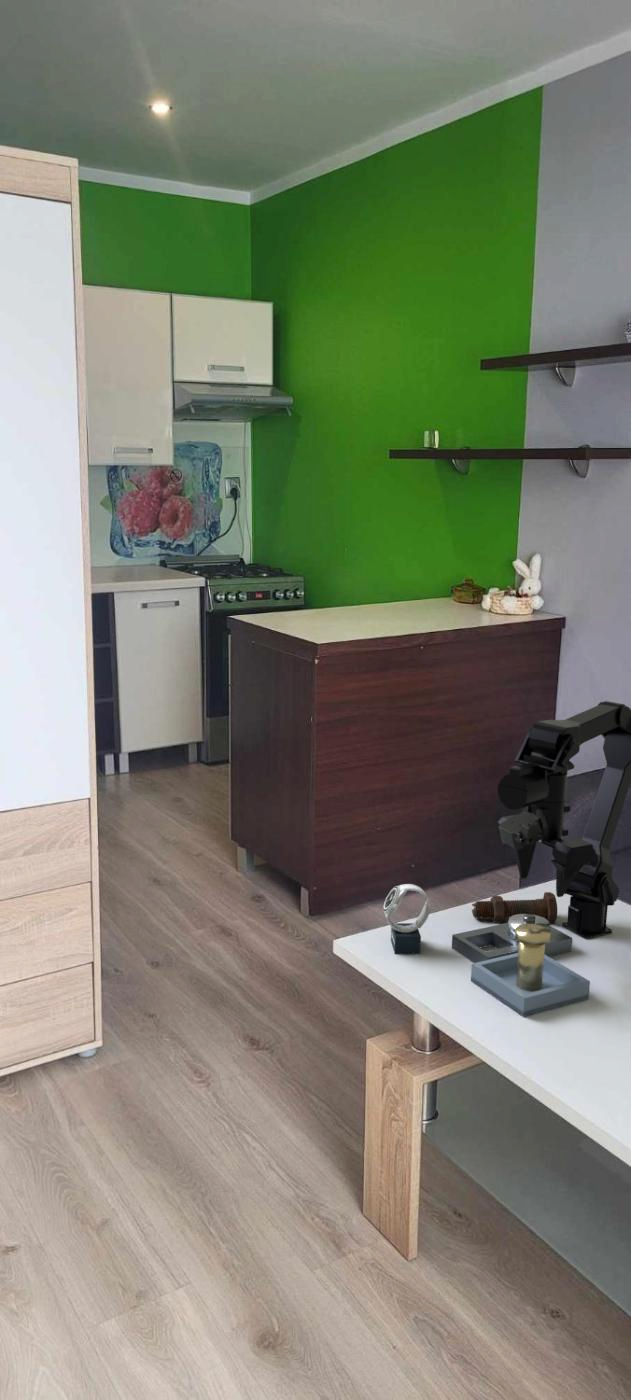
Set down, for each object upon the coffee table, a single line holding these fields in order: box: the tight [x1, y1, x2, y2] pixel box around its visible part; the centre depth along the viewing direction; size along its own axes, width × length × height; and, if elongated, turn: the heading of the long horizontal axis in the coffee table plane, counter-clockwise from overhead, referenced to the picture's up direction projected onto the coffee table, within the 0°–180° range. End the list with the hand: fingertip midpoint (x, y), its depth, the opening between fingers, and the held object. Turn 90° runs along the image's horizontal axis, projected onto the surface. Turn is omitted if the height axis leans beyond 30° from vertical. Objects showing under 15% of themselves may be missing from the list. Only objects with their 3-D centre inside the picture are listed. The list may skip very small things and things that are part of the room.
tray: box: [470, 953, 591, 1017], centre depth 168 cm, size 13×13×3 cm
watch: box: [382, 883, 431, 955], centre depth 182 cm, size 6×8×11 cm
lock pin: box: [515, 924, 551, 991], centre depth 167 cm, size 5×5×9 cm
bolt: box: [471, 891, 558, 925], centre depth 195 cm, size 6×5×15 cm
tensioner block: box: [451, 914, 573, 964], centre depth 182 cm, size 18×10×6 cm, turn 119°
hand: (541, 887), depth 179 cm, fingers open, 9 cm apart
